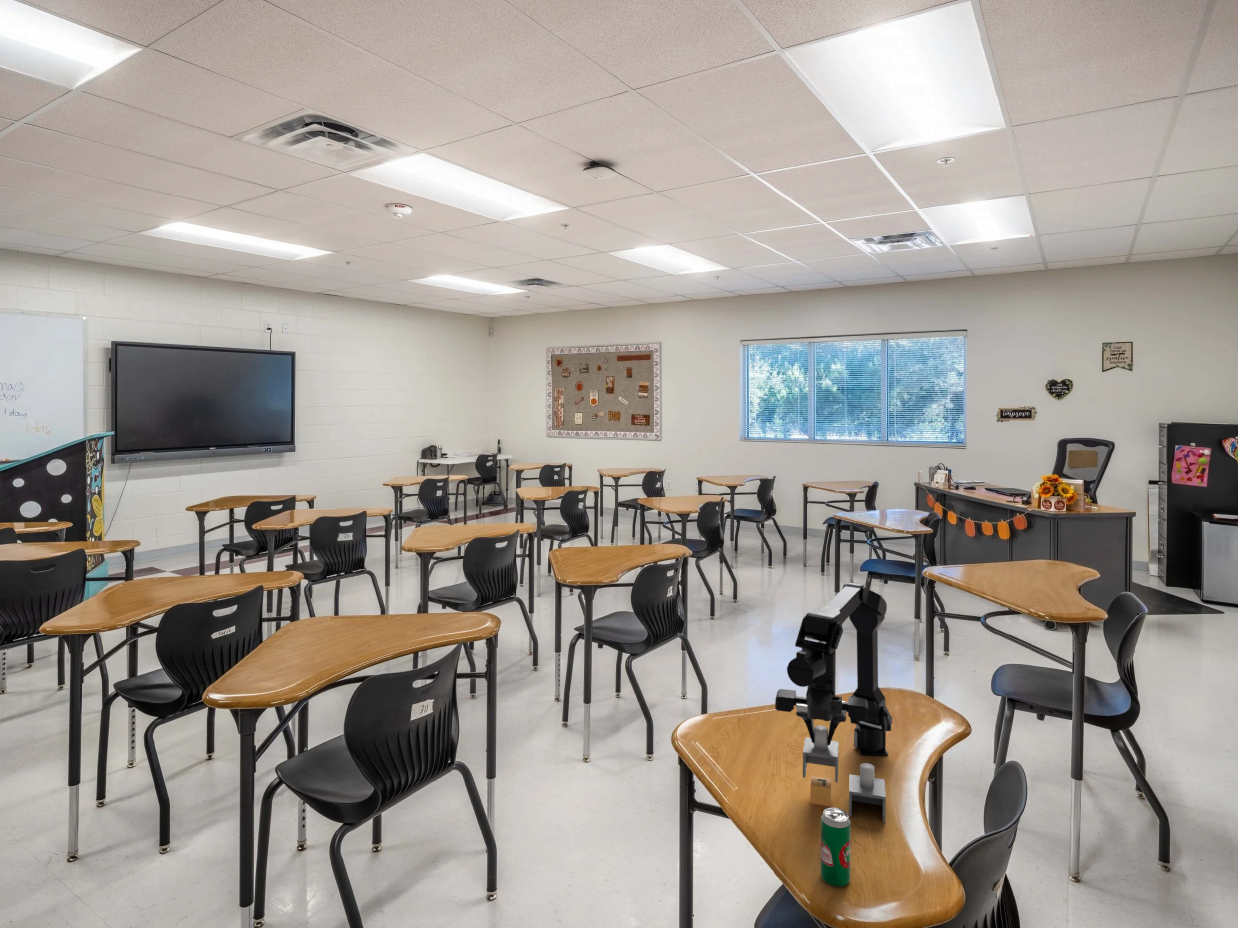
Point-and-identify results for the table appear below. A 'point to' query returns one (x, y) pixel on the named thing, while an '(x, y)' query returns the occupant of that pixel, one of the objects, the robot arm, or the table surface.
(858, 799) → the hood
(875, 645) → the robot arm
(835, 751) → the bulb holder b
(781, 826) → the table surface
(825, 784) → the letter cube
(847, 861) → the soda can
